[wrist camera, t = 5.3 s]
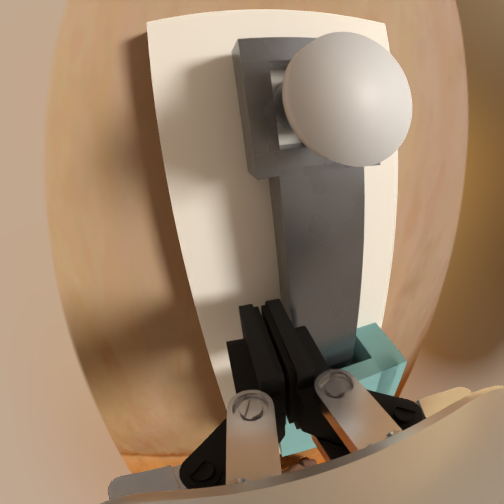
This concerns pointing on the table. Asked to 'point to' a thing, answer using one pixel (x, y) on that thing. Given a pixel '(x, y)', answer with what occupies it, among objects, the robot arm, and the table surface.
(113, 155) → the table surface
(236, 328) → the base plank
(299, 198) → the swing link
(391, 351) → the keeper bracket
